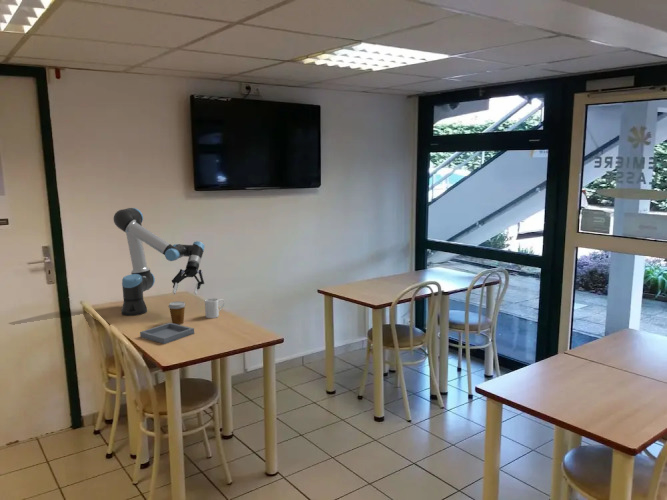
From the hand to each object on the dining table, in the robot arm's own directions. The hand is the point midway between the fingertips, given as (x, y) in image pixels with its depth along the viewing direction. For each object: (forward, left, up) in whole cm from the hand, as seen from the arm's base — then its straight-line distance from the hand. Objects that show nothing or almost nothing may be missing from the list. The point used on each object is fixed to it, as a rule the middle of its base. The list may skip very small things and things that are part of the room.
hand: (184, 293), depth 319 cm
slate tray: (+17, -28, -15) cm, 36 cm away
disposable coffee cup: (+4, -10, -16) cm, 19 cm away
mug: (+12, +13, -16) cm, 23 cm away
